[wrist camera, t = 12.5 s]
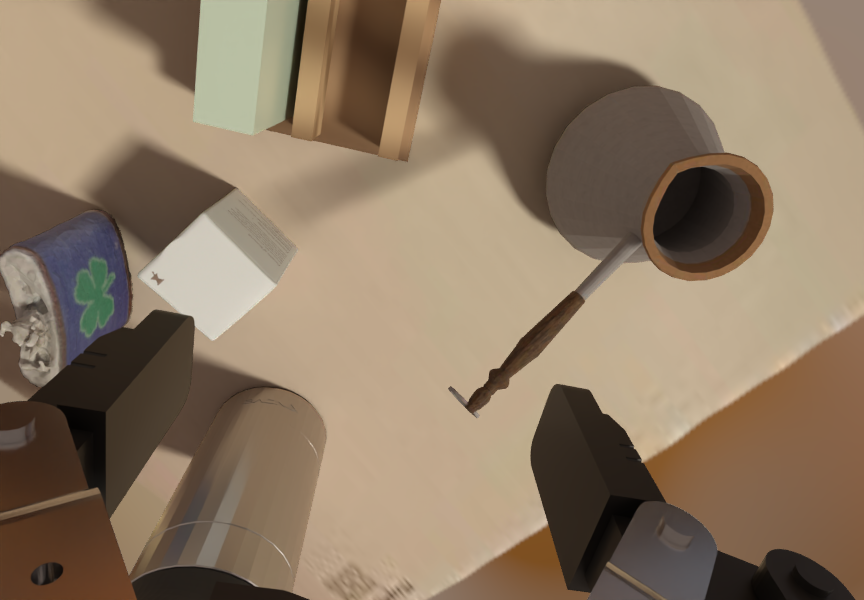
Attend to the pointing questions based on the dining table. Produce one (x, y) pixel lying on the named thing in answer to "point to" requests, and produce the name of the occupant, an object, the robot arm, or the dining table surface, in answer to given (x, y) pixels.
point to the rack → (362, 74)
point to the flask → (66, 292)
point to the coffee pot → (643, 203)
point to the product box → (221, 264)
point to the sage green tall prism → (248, 63)
